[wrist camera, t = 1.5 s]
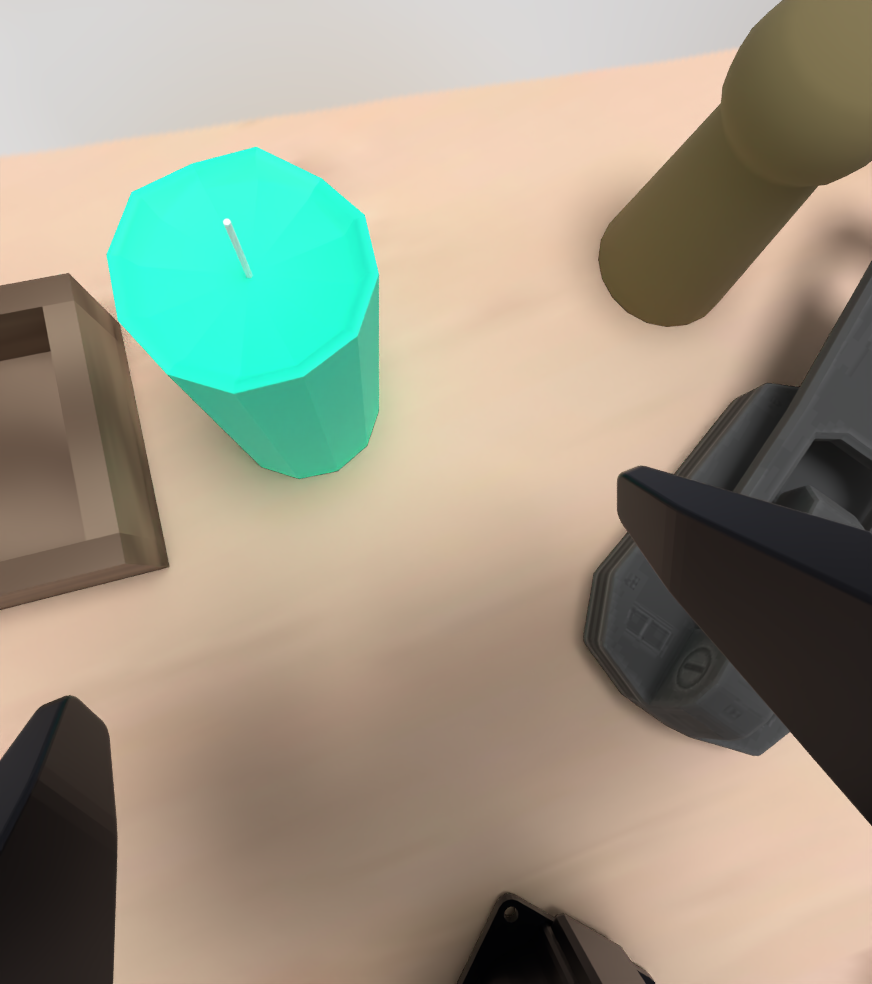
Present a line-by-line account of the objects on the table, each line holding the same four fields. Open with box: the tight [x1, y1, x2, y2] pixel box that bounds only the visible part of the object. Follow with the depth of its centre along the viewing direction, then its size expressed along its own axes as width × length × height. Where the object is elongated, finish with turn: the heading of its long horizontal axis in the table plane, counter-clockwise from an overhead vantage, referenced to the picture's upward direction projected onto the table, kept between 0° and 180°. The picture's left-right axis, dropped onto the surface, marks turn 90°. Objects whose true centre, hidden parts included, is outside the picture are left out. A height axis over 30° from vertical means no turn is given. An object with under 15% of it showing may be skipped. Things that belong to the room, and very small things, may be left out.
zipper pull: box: [583, 261, 872, 756], centre depth 22 cm, size 9×7×25 cm
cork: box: [598, 0, 872, 327], centre depth 20 cm, size 6×6×11 cm
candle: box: [107, 147, 379, 479], centre depth 17 cm, size 6×6×12 cm
